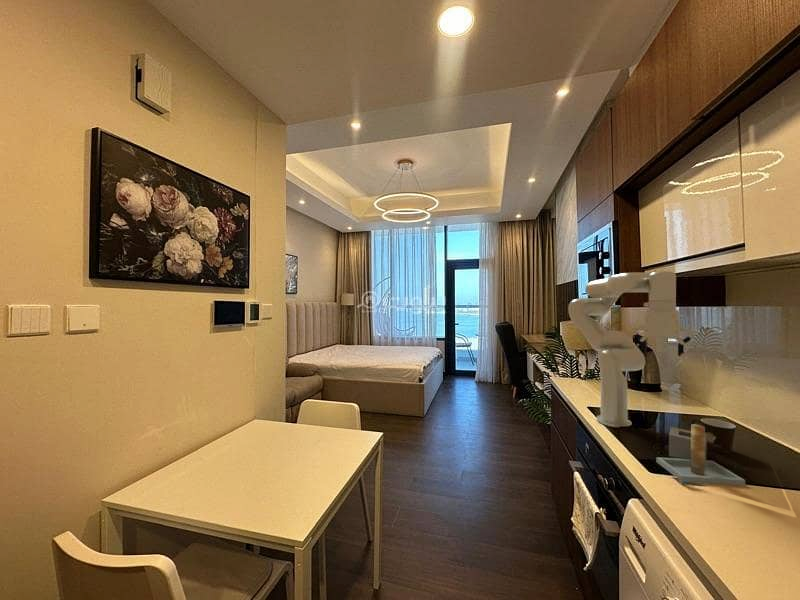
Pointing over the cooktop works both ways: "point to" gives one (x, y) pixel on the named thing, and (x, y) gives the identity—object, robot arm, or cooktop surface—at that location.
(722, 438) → the coffee mug
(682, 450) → the grey notched box
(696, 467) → the brown upright block
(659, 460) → the slate tray
